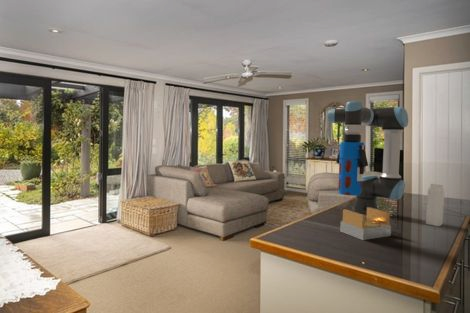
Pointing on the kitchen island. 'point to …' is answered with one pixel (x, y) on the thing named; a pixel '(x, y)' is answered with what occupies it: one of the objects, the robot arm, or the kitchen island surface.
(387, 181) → the robot arm
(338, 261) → the kitchen island surface
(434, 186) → the milk
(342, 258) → the kitchen island surface
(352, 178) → the thermos
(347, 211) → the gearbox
